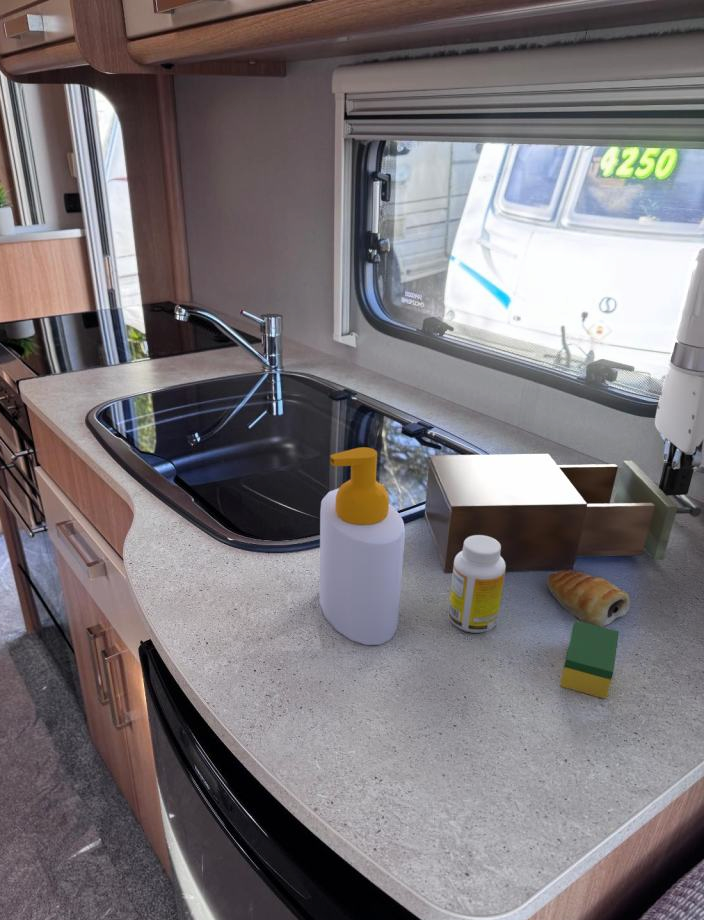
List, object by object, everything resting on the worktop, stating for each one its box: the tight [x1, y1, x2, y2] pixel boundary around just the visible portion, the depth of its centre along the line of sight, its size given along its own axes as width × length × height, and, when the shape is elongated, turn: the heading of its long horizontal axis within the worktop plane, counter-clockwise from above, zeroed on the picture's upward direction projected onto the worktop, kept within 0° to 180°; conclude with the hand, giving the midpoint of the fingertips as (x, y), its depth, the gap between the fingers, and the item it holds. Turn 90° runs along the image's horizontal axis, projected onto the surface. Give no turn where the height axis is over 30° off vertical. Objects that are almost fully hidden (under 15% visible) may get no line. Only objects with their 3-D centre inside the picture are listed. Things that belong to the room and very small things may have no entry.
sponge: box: [559, 620, 620, 700], centre depth 75 cm, size 7×4×4 cm, turn 156°
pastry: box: [547, 570, 631, 628], centre depth 85 cm, size 9×7×4 cm
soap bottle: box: [318, 446, 406, 646], centre depth 79 cm, size 13×8×20 cm, turn 20°
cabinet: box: [423, 453, 587, 574], centre depth 96 cm, size 17×15×10 cm
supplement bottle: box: [448, 535, 506, 634], centre depth 80 cm, size 6×6×10 cm
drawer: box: [557, 460, 702, 561], centre depth 96 cm, size 21×13×8 cm, turn 93°
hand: (672, 492), depth 95 cm, fingers closed
